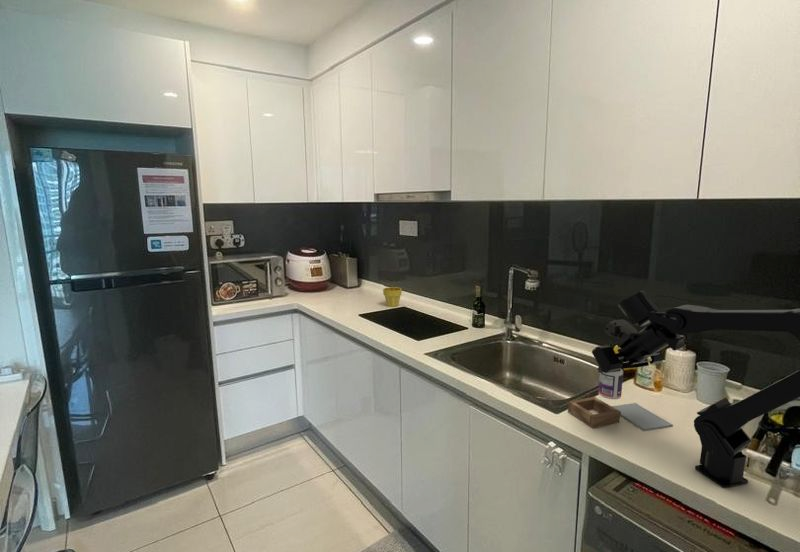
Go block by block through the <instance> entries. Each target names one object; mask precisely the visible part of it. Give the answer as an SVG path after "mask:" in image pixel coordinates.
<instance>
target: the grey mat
mask: <svg viewBox="0 0 800 552" xmlns="http://www.w3.org/2000/svg"><path fill="white" fill-rule="evenodd" d="M611 406H612V407H613V408H615V409H617V410H619V411H621V415H620V418H623V419H624V420H626V421H627V422H629V423H631V424H632V425H634V426H635V427H637V428H639V429H640V430H642V431H643V432H646V431H647V432H648V431H652V430H660V429H664V428H670V427H671V428H672V427H674V424H673V423H672V422H669V421H668V420H666V419H664V418H662V417H661V416H659V415H657V414H655V413H653V412H652V411H650V410H648V409H647V408H645V407H643V406H641V405H639V403H636V402H632V403H625V404H618V405H611Z"/></svg>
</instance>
